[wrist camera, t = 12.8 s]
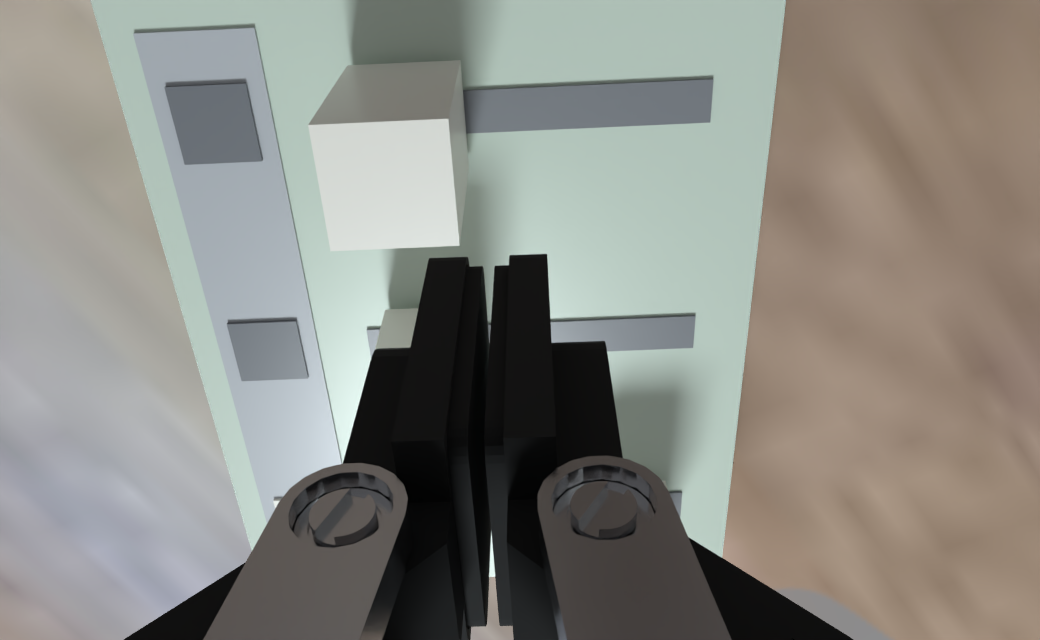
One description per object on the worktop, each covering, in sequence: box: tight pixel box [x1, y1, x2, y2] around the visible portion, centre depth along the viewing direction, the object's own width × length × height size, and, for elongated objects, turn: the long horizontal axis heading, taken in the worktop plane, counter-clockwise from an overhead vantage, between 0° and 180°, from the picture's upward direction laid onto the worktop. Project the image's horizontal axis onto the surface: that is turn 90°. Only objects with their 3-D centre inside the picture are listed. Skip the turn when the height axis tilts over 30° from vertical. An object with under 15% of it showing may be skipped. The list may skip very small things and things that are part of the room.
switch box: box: [91, 0, 786, 577], centre depth 28 cm, size 18×22×3 cm
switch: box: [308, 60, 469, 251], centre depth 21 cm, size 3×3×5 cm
